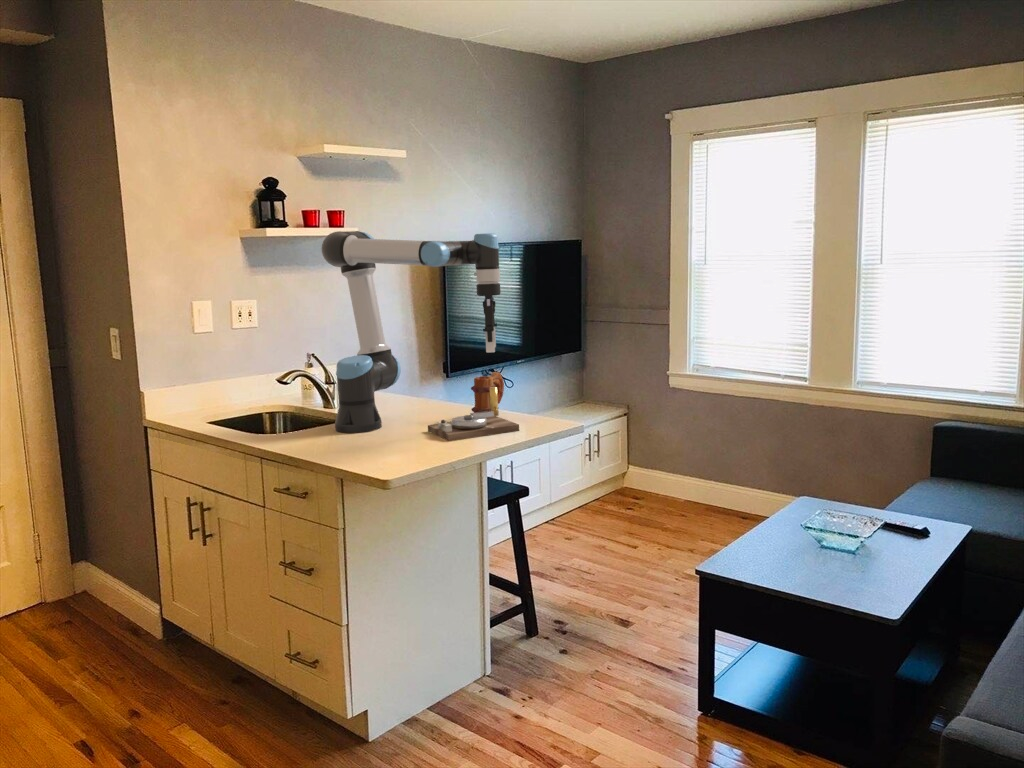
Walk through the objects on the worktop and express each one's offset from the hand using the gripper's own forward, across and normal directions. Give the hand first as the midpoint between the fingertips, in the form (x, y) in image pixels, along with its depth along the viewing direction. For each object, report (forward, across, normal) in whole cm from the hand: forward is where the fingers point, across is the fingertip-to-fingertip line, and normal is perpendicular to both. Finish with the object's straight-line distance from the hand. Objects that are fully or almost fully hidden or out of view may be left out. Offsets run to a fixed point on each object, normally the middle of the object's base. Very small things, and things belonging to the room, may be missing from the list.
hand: (491, 349), depth 265 cm
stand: (+25, +6, -7) cm, 27 cm away
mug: (+25, -15, -2) cm, 29 cm away
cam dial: (+23, +8, -6) cm, 24 cm away
